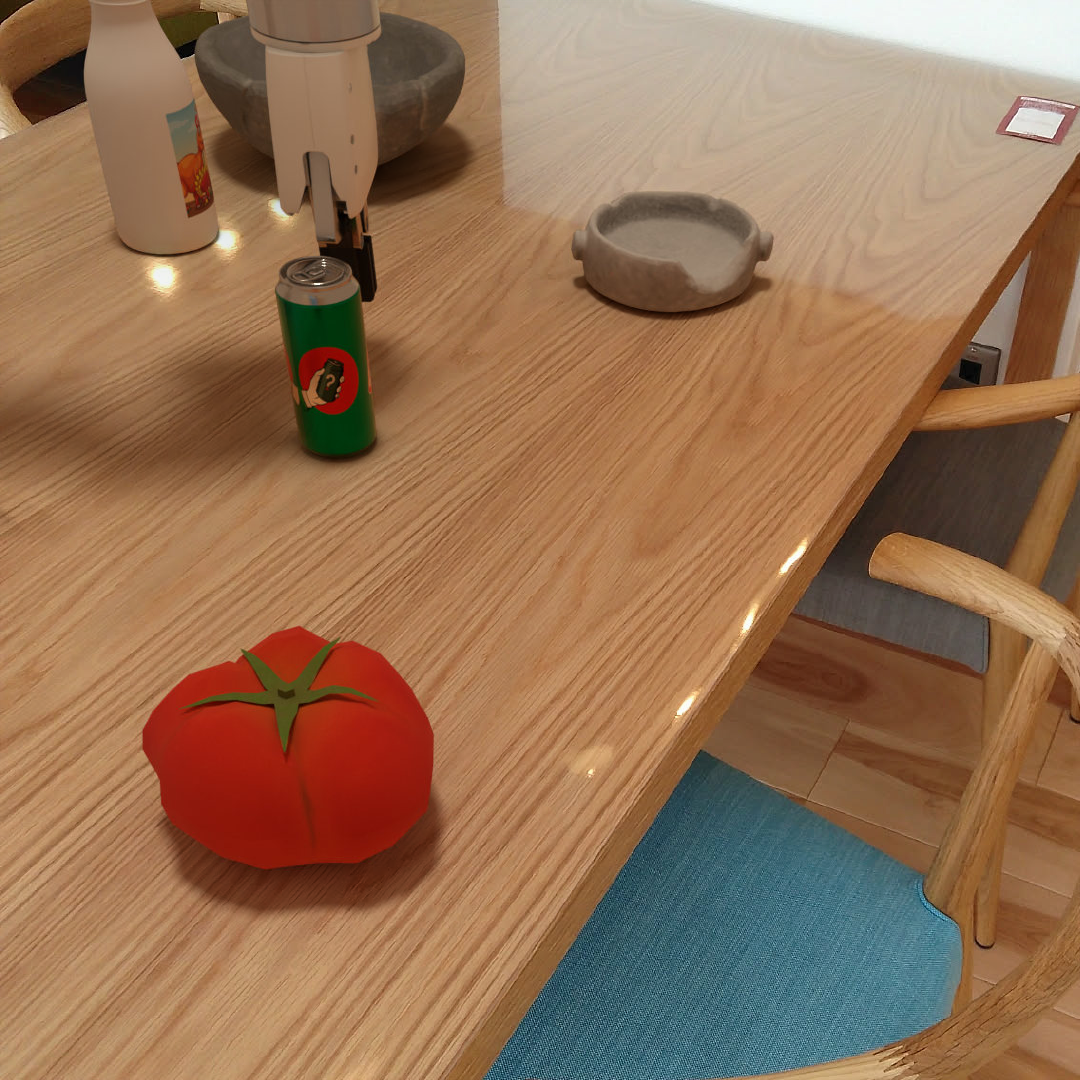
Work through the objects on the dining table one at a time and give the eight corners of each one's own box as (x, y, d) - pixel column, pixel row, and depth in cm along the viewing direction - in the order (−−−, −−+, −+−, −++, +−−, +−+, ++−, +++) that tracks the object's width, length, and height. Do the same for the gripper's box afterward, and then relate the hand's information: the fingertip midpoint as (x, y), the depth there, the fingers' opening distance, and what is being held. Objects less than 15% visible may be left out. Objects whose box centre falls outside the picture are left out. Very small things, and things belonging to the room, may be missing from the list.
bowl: (520, 148, 129) (517, 34, 122) (369, 232, 114) (355, 108, 107) (323, 90, 136) (309, -21, 129) (156, 163, 121) (130, 42, 114)
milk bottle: (167, 266, 107) (106, -13, 94) (98, 237, 110) (28, -39, 96) (241, 233, 112) (193, -37, 99) (173, 206, 115) (117, -60, 101)
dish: (784, 277, 114) (791, 218, 111) (690, 339, 105) (694, 278, 102) (643, 225, 119) (645, 168, 116) (542, 280, 111) (540, 220, 107)
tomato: (483, 741, 73) (474, 611, 67) (408, 927, 64) (390, 797, 58) (230, 700, 74) (198, 569, 67) (121, 879, 64) (73, 746, 58)
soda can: (393, 441, 92) (375, 272, 84) (333, 471, 89) (308, 299, 81) (344, 412, 94) (321, 244, 86) (283, 440, 91) (254, 269, 83)
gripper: (273, -37, 86) (315, 244, 99) (219, 45, 76) (274, 348, 88) (395, -30, 87) (421, 249, 100) (359, 53, 76) (393, 353, 89)
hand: (352, 295), depth 94 cm, fingers closed
